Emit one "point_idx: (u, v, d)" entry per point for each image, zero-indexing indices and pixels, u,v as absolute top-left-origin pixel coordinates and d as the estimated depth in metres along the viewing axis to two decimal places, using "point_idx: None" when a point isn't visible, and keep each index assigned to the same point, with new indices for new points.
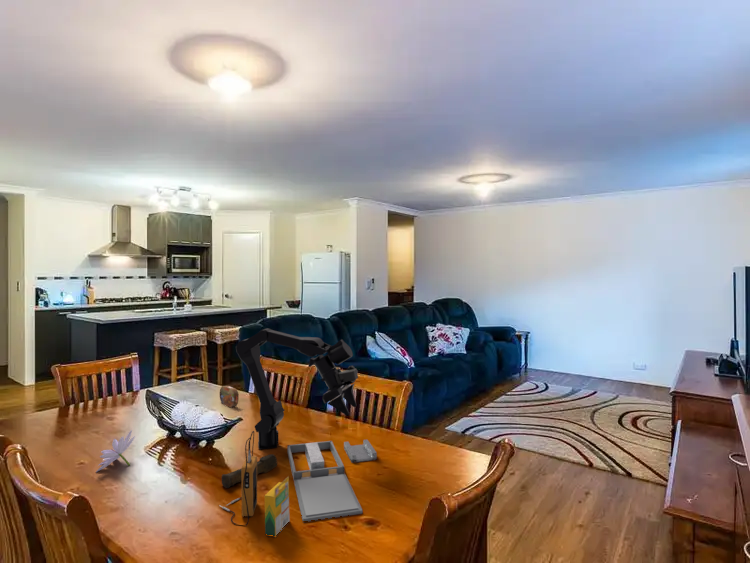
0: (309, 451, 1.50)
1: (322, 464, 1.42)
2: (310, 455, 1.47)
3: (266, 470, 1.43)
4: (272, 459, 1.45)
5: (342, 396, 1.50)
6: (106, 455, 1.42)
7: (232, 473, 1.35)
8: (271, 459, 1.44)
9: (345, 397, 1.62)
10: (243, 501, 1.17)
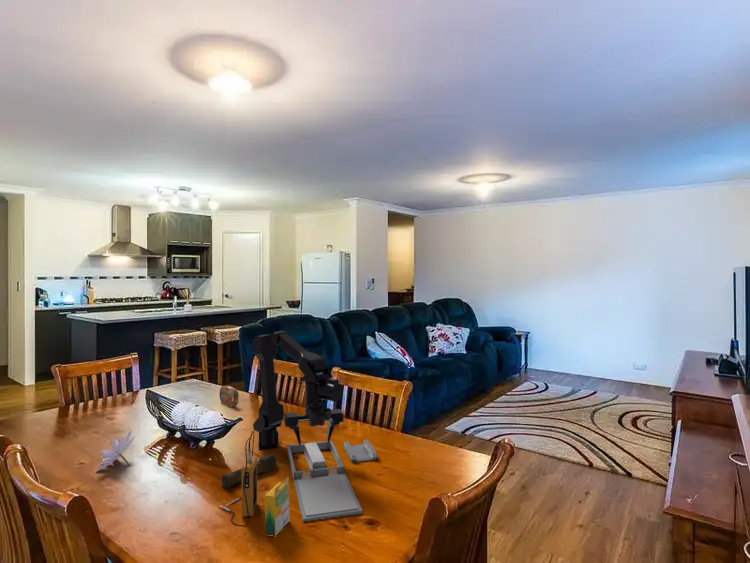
0: (309, 451, 1.50)
1: (323, 464, 1.42)
2: (310, 455, 1.47)
3: (266, 470, 1.43)
4: (272, 459, 1.45)
5: (294, 429, 1.45)
6: (106, 455, 1.42)
7: (232, 473, 1.35)
8: (271, 459, 1.45)
9: None
10: (243, 501, 1.17)
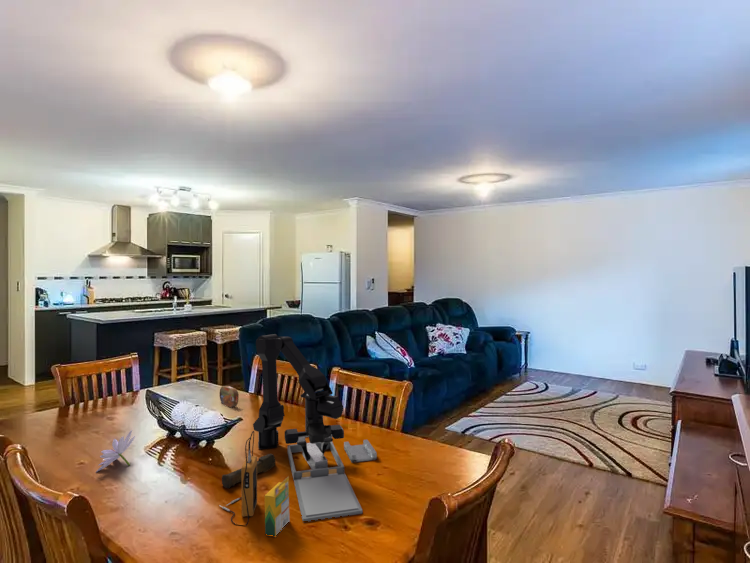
0: (309, 451, 1.50)
1: (325, 463, 1.43)
2: (311, 455, 1.47)
3: (265, 470, 1.43)
4: (271, 459, 1.45)
5: (302, 445, 1.46)
6: (106, 455, 1.42)
7: (232, 473, 1.35)
8: (270, 458, 1.45)
9: (321, 443, 1.52)
10: (243, 501, 1.17)
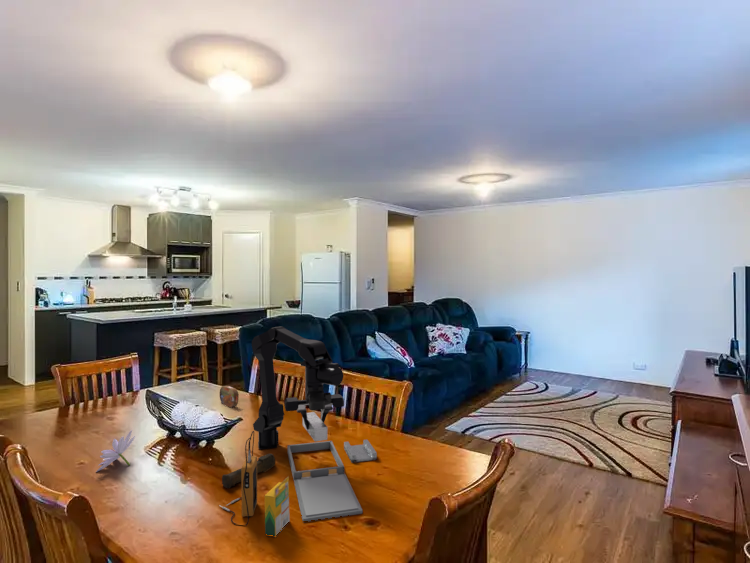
0: (309, 419, 1.49)
1: (325, 430, 1.42)
2: (311, 422, 1.46)
3: (265, 469, 1.43)
4: (270, 458, 1.45)
5: (302, 412, 1.46)
6: (106, 455, 1.42)
7: (232, 473, 1.35)
8: (270, 458, 1.45)
9: (321, 412, 1.51)
10: (243, 501, 1.17)
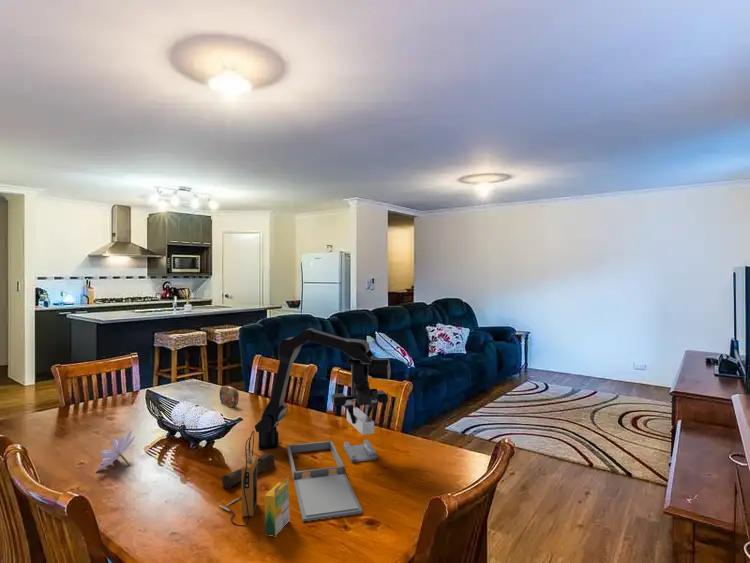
0: (354, 414, 1.57)
1: (372, 424, 1.50)
2: (358, 417, 1.53)
3: (265, 469, 1.43)
4: (270, 458, 1.46)
5: (349, 407, 1.53)
6: (106, 455, 1.42)
7: (233, 473, 1.35)
8: (269, 458, 1.45)
9: (365, 408, 1.59)
10: (243, 501, 1.17)
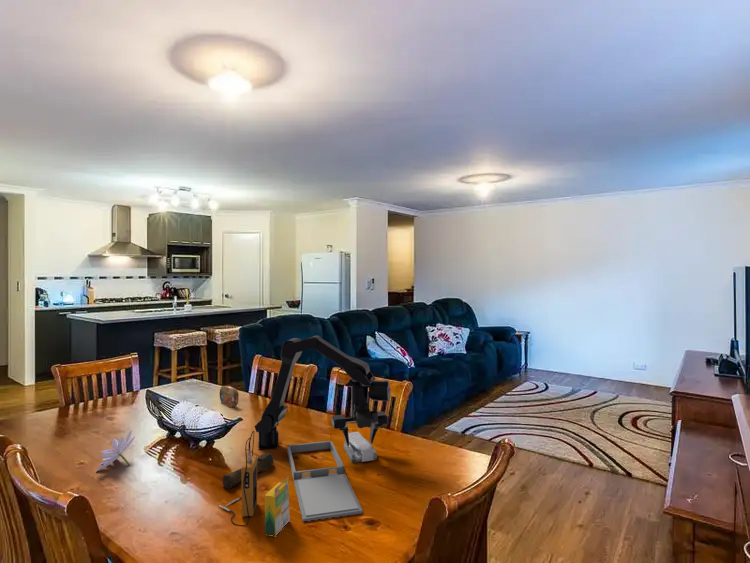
0: (355, 440, 1.57)
1: (371, 451, 1.50)
2: (357, 443, 1.54)
3: (264, 469, 1.44)
4: (269, 458, 1.46)
5: (343, 430, 1.53)
6: (106, 455, 1.42)
7: (233, 473, 1.35)
8: (268, 458, 1.45)
9: (370, 428, 1.59)
10: (243, 501, 1.17)
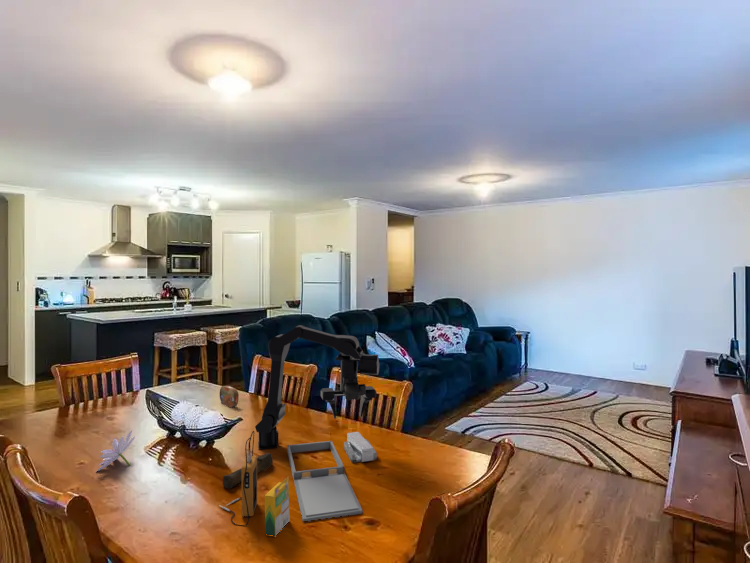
0: (355, 440, 1.57)
1: (371, 451, 1.50)
2: (357, 443, 1.54)
3: (264, 469, 1.44)
4: (268, 458, 1.46)
5: (330, 402, 1.55)
6: (106, 455, 1.42)
7: (233, 473, 1.34)
8: (268, 458, 1.46)
9: (360, 402, 1.62)
10: (243, 501, 1.17)
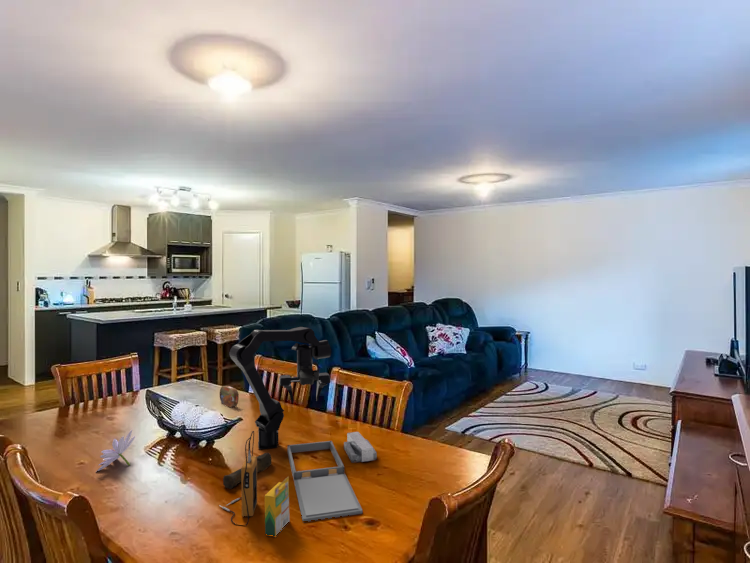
0: (355, 440, 1.57)
1: (371, 451, 1.50)
2: (357, 443, 1.54)
3: (263, 468, 1.44)
4: (268, 457, 1.46)
5: (287, 388, 1.69)
6: (106, 455, 1.42)
7: (234, 473, 1.34)
8: (267, 457, 1.46)
9: None
10: (243, 501, 1.17)
